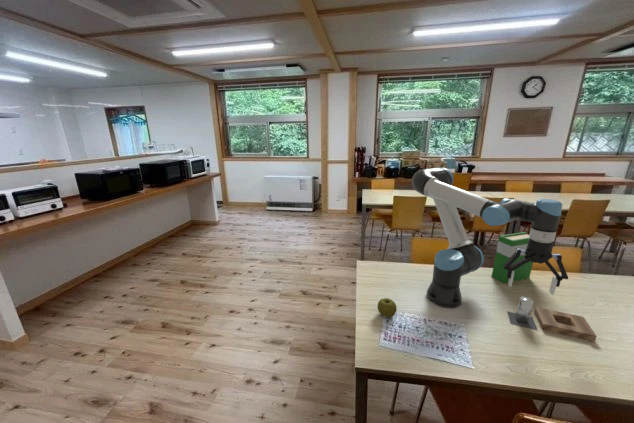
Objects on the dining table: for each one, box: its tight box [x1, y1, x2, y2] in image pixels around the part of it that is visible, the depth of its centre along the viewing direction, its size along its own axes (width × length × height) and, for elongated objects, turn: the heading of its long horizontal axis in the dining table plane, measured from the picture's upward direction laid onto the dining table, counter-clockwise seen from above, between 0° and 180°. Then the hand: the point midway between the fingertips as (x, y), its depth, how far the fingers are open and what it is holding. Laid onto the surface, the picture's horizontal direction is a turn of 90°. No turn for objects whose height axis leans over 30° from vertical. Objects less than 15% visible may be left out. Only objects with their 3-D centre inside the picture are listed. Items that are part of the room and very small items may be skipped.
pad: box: [506, 310, 539, 331], centre depth 114 cm, size 9×9×1 cm
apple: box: [377, 297, 397, 319], centre depth 117 cm, size 8×8×7 cm
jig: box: [533, 306, 598, 343], centre depth 110 cm, size 16×12×3 cm
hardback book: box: [491, 231, 534, 284], centre depth 144 cm, size 18×7×24 cm, turn 106°
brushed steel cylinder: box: [515, 296, 534, 324], centre depth 112 cm, size 4×4×10 cm
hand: (530, 289), depth 109 cm, fingers open, 13 cm apart
